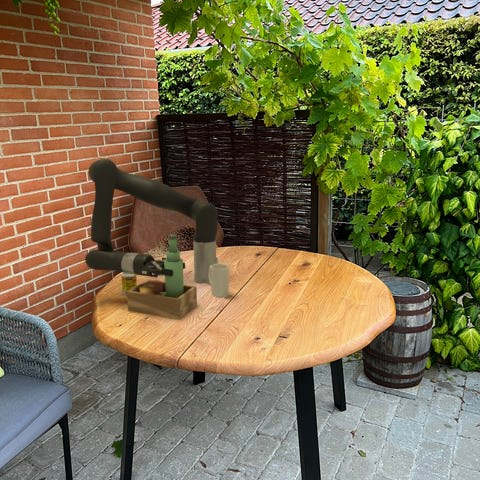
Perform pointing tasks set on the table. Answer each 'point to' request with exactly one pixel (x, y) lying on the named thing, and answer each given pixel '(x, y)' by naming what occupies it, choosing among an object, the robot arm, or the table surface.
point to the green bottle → (174, 269)
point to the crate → (160, 300)
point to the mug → (219, 279)
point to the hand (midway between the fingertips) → (178, 269)
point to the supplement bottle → (128, 282)
